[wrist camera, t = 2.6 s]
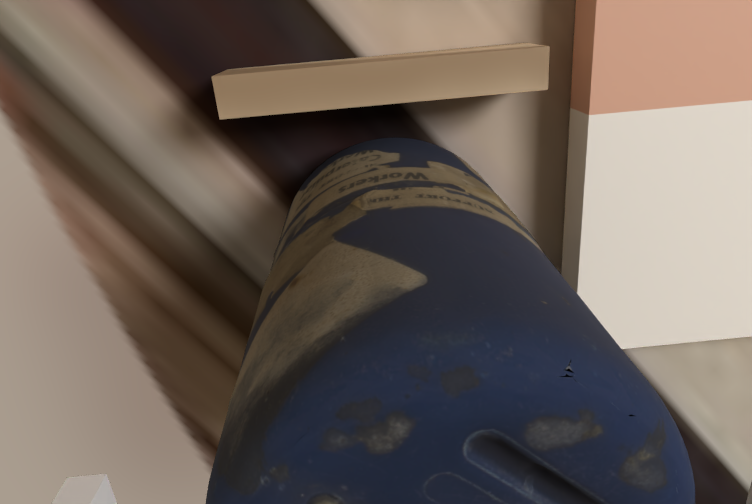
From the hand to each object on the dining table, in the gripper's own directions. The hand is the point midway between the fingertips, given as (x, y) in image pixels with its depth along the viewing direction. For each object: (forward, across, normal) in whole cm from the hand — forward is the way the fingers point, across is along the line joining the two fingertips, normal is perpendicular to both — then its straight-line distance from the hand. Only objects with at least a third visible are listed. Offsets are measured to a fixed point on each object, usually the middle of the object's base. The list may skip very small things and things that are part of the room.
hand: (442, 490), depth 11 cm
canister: (+15, 0, 0) cm, 15 cm away
